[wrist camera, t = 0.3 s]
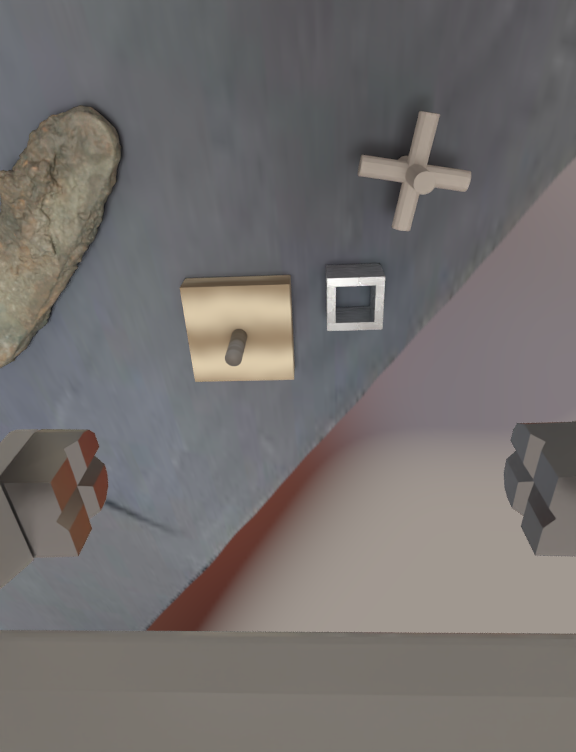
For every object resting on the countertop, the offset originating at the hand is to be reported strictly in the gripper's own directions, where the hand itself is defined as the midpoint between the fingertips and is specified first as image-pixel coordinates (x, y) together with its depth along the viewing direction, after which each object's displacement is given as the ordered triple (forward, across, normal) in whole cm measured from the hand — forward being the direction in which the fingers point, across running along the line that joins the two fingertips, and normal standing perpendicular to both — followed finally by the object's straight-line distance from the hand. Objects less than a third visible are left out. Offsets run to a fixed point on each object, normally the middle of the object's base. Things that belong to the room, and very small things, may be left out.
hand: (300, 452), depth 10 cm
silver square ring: (+46, -5, +14) cm, 49 cm away
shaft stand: (+46, +8, +18) cm, 51 cm away
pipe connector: (+47, -10, +1) cm, 48 cm away
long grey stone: (+47, +31, +9) cm, 57 cm away
